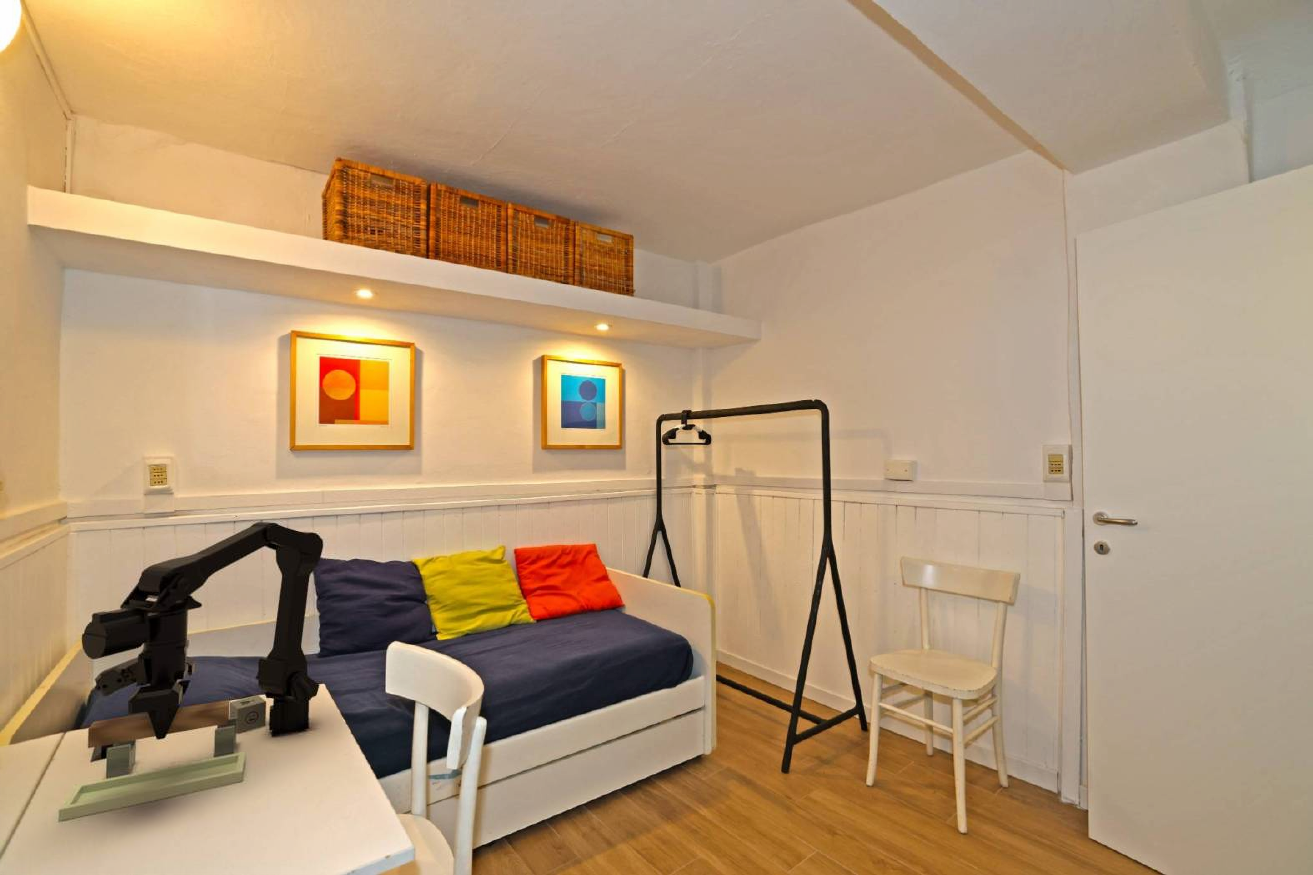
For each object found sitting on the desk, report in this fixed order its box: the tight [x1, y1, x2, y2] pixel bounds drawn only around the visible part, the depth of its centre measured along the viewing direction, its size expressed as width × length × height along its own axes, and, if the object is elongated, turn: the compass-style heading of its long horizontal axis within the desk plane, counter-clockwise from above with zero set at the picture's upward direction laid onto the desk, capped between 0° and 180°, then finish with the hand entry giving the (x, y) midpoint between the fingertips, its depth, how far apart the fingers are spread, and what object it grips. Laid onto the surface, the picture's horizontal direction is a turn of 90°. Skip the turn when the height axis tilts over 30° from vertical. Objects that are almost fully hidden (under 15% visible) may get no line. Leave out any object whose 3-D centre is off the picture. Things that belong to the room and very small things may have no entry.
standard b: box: [105, 740, 137, 779], centre depth 107 cm, size 3×5×5 cm, turn 31°
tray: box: [58, 751, 247, 822], centre depth 102 cm, size 23×8×2 cm, turn 121°
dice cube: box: [229, 694, 267, 735], centre depth 125 cm, size 5×5×5 cm
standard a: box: [213, 717, 237, 758], centre depth 115 cm, size 3×5×5 cm, turn 31°
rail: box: [87, 699, 230, 749], centre depth 102 cm, size 18×3×3 cm, turn 121°
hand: (162, 734), depth 102 cm, fingers closed on rail, 3 cm apart
